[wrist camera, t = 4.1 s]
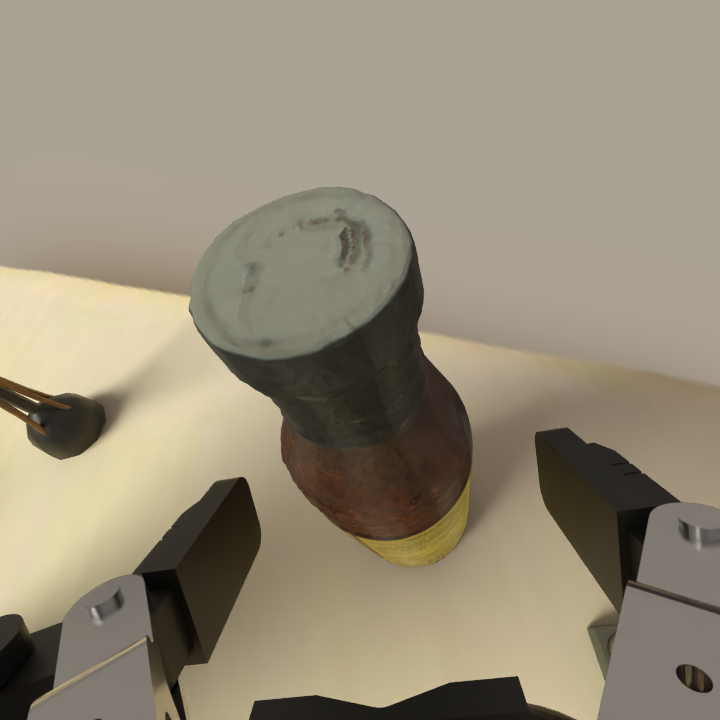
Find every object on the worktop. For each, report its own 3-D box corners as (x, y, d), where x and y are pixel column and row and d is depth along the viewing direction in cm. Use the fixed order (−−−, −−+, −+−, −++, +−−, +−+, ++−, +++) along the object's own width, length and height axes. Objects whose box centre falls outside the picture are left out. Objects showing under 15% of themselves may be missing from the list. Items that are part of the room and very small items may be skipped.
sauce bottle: (481, 483, 23) (584, 166, 6) (442, 593, 20) (445, 545, 4) (381, 440, 25) (268, 131, 9) (335, 534, 23) (57, 348, 6)
